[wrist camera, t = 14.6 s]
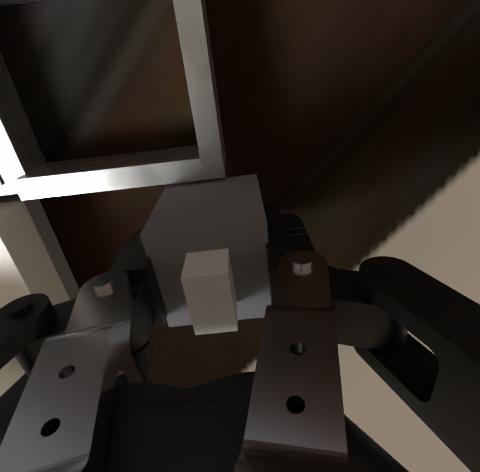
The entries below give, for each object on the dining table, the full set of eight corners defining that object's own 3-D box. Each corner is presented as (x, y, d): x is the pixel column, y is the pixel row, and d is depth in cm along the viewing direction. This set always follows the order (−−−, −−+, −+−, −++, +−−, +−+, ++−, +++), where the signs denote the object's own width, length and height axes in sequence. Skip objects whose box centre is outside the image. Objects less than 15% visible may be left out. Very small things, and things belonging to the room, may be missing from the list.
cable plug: (166, 184, 12) (127, 258, 8) (256, 173, 12) (271, 242, 7) (184, 260, 14) (161, 357, 9) (264, 251, 14) (279, 345, 9)
